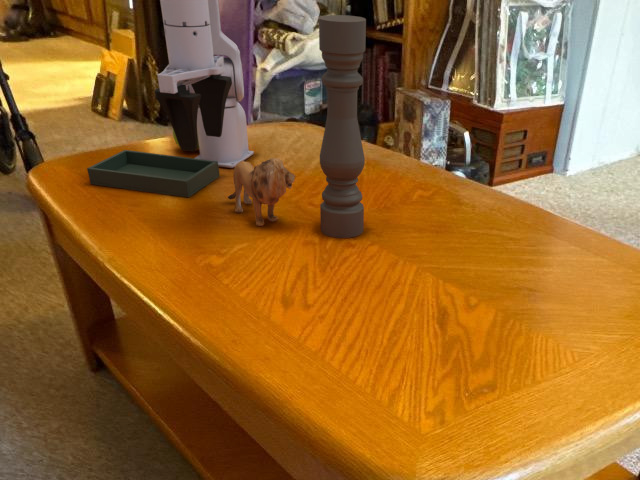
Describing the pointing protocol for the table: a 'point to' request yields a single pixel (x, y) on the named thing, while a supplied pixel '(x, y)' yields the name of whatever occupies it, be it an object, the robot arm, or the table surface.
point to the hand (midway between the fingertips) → (201, 142)
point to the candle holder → (342, 125)
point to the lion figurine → (261, 185)
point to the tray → (154, 173)
